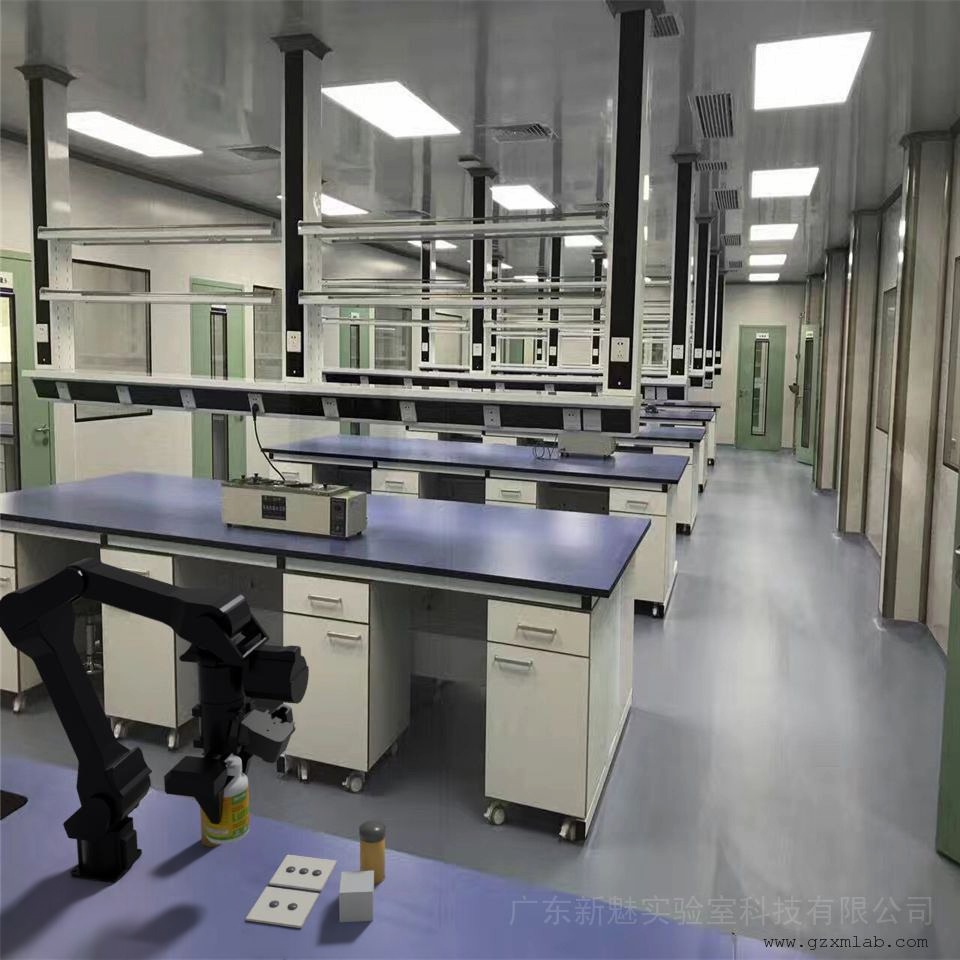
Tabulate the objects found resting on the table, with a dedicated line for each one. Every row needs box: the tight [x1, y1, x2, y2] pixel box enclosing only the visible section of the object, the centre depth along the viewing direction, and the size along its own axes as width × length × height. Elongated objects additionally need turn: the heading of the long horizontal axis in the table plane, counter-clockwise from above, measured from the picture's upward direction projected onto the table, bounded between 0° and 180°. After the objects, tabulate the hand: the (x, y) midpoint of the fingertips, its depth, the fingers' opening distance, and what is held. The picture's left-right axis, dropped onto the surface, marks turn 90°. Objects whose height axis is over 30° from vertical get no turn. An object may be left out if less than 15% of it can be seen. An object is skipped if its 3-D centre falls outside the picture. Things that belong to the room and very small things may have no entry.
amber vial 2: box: [358, 819, 387, 886], centre depth 108 cm, size 3×3×7 cm
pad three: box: [268, 854, 338, 892], centre depth 109 cm, size 7×6×1 cm
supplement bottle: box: [205, 755, 250, 845], centre depth 105 cm, size 5×5×10 cm
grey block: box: [338, 870, 375, 923], centre depth 102 cm, size 4×4×4 cm
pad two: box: [245, 886, 320, 929], centre depth 103 cm, size 7×6×1 cm
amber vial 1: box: [199, 806, 221, 848], centre depth 116 cm, size 3×3×7 cm
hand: (226, 810), depth 106 cm, fingers closed on supplement bottle, 5 cm apart
